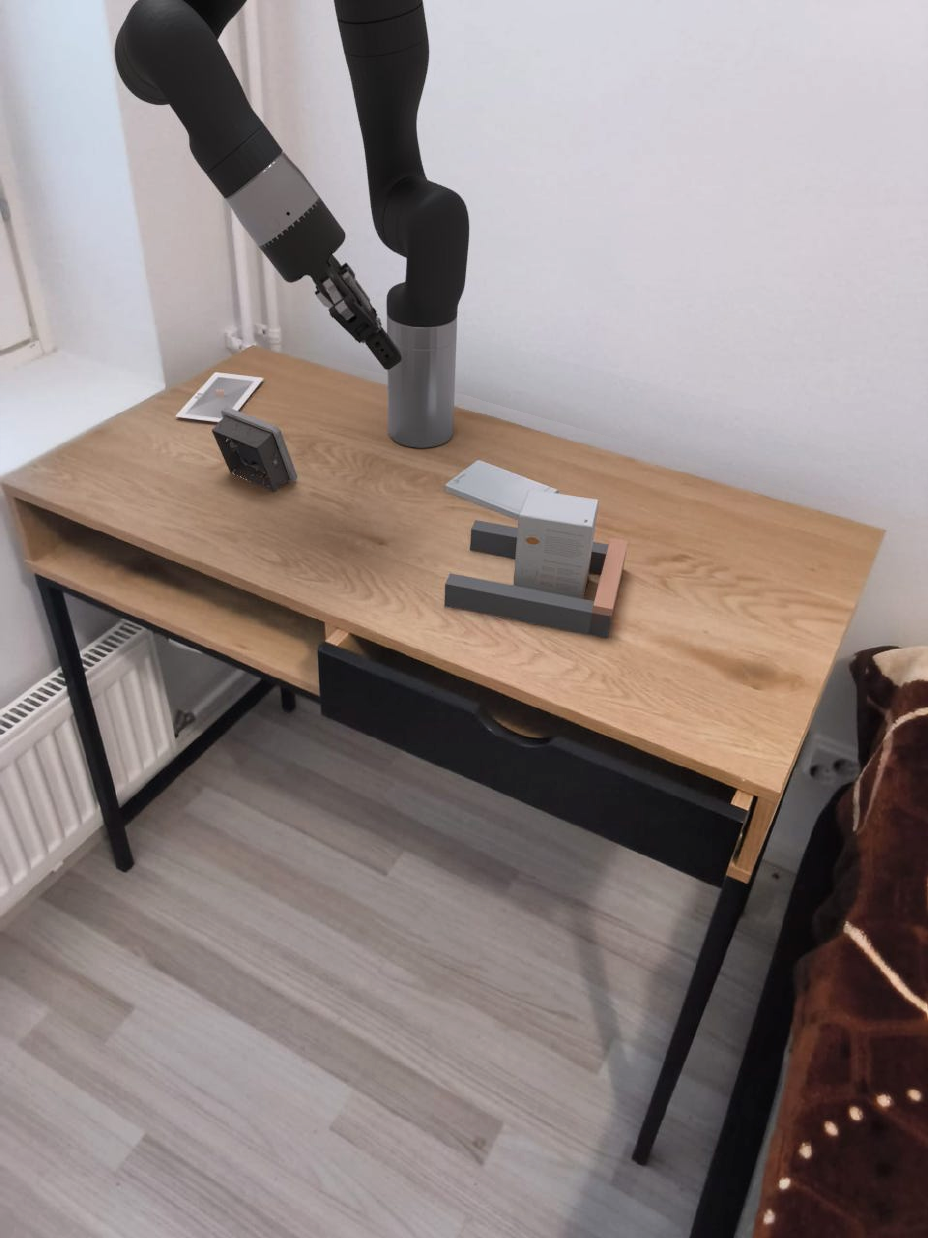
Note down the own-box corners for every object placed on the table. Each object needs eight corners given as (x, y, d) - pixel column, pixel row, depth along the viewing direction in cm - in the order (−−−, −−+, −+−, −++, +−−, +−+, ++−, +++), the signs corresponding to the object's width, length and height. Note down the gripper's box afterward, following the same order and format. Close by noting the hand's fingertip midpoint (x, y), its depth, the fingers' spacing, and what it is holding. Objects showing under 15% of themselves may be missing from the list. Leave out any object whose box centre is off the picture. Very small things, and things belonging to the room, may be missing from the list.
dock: (474, 540, 110) (475, 512, 108) (623, 568, 107) (628, 540, 105) (444, 605, 101) (445, 576, 98) (607, 638, 97) (612, 609, 95)
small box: (588, 576, 106) (601, 498, 99) (581, 605, 102) (594, 526, 95) (520, 564, 107) (528, 487, 100) (511, 592, 103) (518, 513, 96)
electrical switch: (299, 482, 119) (289, 420, 112) (273, 502, 116) (260, 440, 109) (246, 460, 123) (232, 399, 116) (219, 480, 120) (203, 418, 113)
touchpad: (264, 384, 141) (263, 371, 140) (228, 430, 130) (226, 416, 128) (216, 378, 142) (214, 365, 141) (176, 423, 131) (173, 409, 129)
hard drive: (444, 484, 118) (526, 515, 113) (479, 458, 123) (559, 487, 118) (444, 495, 119) (526, 527, 114) (478, 469, 124) (558, 498, 119)
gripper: (315, 204, 81) (428, 361, 90) (318, 183, 92) (419, 325, 101) (250, 256, 83) (367, 405, 92) (261, 230, 94) (365, 365, 103)
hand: (394, 363), depth 96 cm, fingers closed
